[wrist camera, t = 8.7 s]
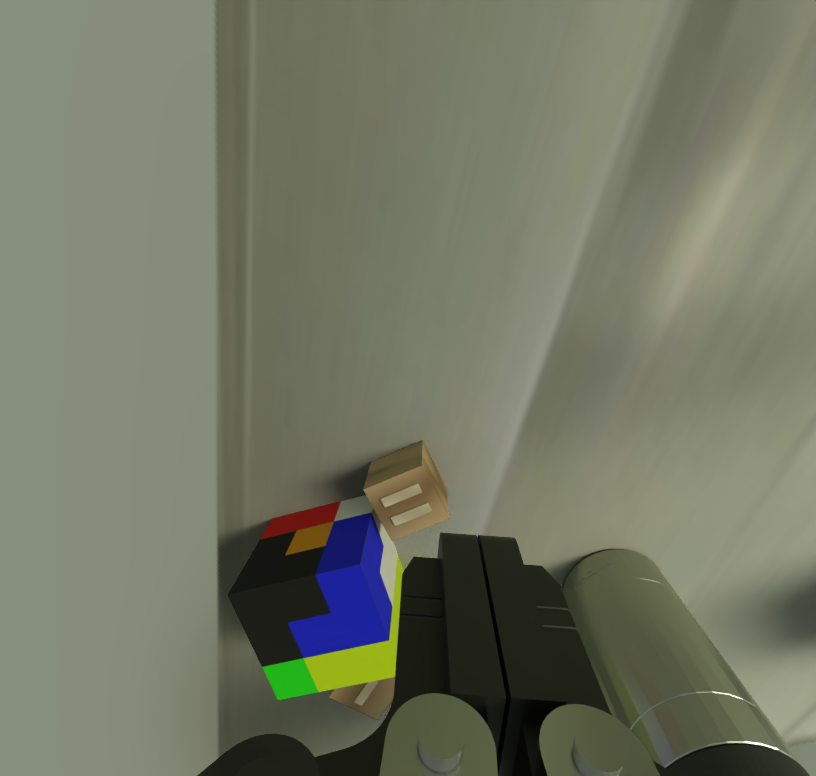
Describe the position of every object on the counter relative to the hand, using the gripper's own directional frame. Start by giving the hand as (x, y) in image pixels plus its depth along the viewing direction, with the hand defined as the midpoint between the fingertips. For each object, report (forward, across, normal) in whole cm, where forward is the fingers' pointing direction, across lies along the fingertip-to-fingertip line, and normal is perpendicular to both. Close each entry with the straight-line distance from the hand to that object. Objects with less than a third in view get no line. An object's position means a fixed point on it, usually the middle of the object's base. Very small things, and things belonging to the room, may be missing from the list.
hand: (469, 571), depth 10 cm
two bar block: (+29, +1, +13) cm, 31 cm away
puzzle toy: (+29, +7, +21) cm, 37 cm away
